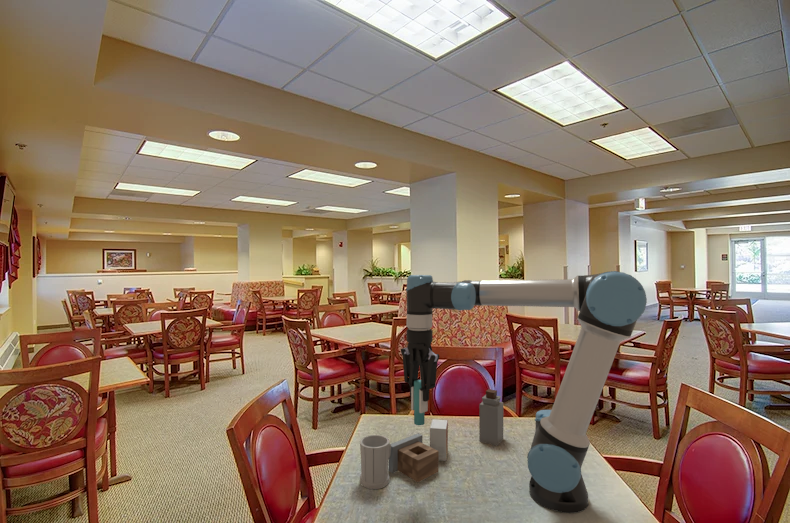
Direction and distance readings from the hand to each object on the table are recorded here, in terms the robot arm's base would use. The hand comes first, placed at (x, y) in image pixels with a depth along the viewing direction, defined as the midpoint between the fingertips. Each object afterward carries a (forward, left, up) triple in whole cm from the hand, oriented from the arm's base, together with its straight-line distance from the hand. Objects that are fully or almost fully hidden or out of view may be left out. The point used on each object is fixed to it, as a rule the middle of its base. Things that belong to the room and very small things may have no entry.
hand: (419, 410), depth 113 cm
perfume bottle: (+5, -42, -23) cm, 48 cm away
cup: (+12, +7, -23) cm, 27 cm away
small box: (+10, -19, -23) cm, 32 cm away
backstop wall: (+12, -6, -23) cm, 27 cm away
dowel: (0, 0, -4) cm, 4 cm away
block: (+7, -6, -23) cm, 24 cm away
